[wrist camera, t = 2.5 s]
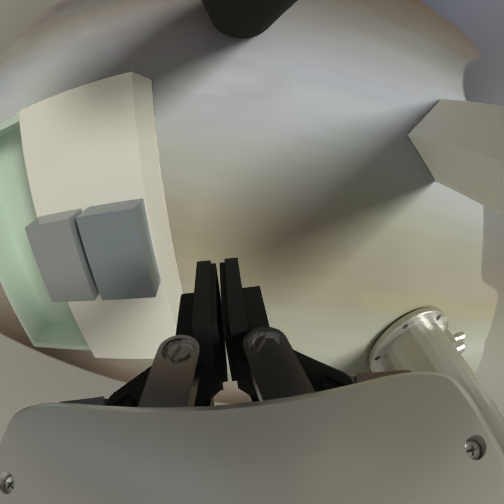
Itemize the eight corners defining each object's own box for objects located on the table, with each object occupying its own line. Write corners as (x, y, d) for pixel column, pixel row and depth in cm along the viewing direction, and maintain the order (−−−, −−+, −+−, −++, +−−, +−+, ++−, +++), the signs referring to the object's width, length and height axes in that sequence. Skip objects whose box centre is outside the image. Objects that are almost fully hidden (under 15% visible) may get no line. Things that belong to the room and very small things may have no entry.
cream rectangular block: (151, 80, 17) (131, 71, 13) (189, 320, 28) (185, 357, 23) (53, 107, 17) (18, 110, 12) (108, 324, 27) (95, 357, 23)
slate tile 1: (143, 198, 17) (134, 208, 15) (160, 280, 19) (155, 297, 18) (88, 206, 16) (75, 217, 15) (110, 284, 19) (102, 300, 17)
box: (50, 108, 17) (23, 111, 13) (106, 324, 27) (95, 350, 23) (-11, 137, 16) (-37, 145, 13) (47, 323, 26) (34, 346, 23)
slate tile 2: (81, 208, 16) (68, 219, 15) (103, 284, 19) (95, 300, 17) (39, 216, 16) (24, 227, 14) (63, 287, 19) (52, 301, 17)
